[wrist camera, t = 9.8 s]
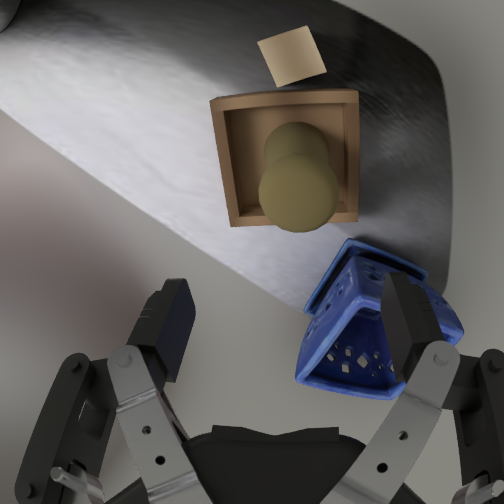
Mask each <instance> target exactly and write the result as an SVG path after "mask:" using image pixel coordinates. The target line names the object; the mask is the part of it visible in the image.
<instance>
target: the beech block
mask: <svg viewBox="0 0 504 504" xmlns="http://www.w3.org/2000/svg"><path fill="white" fill-rule="evenodd" d="M257 43H258V45H259V47H260V49H261V51H262V54H263V56H264V58H265V60H266V62H267V65H268V67H269V69H270V71H271V74H272V76H273V78H274V81H275V83H276V85H277V88H278V87H280V86H283V85H286V84H289V83H292V82H295V81H298V80H302V79H305V78H308V77H311V76H315V75H318V74H321V73H325V72H327V71H326V69H325V66H324V64H323V61H322V59H321V56H320V54H319V51H318V49H317V47H316V44H315V42H314V40H313V37H312V35H311V33H310V30H309V28H308V26H305V27H301V28H298V29H295V30H291V31H288V32H285V33H282V34H279V35H276V36H273V37H270V38H267V39H265V40H262V41H259V42H257Z"/></svg>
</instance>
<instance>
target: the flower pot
mask: <svg viewBox="0 0 504 504" xmlns="http://www.w3.org/2000/svg"><path fill="white" fill-rule="evenodd" d="M403 271H405V272H406V273H407V276H408V278H409V280H410V283H411V284H418V285H419V286H420V287H421V288H422V289H423V290H424V291H425V292H426V293H427V296H428V298H429V300H430V304H431V305H432V308H433V312H435V315H436V317H437V320H438V322H439V325H440V328H441V330H442V333H443V335H444V338H445V341H446V342H448V343H450V344H452V345H453V346H455V345H456V344H457V343H458V341H460V339H461V338H462V337H463V335H464V329H463V327H462V324H461V322H460V320H459V319H458V317H457V315H456V313H455V312H454V311H453V309H452V308H451V306H450V305H449V304H448V303H447V302H446V300H445V299H444V298H443V297H442V296H441V295H440V294H439V293H438V292H436V291H435V290H434V289H433V288H431V287H430V286H428V285H427V284H425V283H424V282H425V280H426V279H427V277H428V274H429V273H428V271H427V270H425V269H424V268H422V267H420V266H418V265H416V264H413V263H411V262H409V261H407V260H405V259H403V258H400V257H398V256H396V255H394V254H392V253H389V252H387V251H384V250H382V249H379V248H377V247H374V246H372V245H370V244H367V243H365V242H362V241H359V240H356V239H353V238H348V239H347V240H346V241H345V243H344V244H343V246H342V247H341V249H340V250H339V252H338V254H337V255H336V257H335V259H334V260H333V262H332V264H331V265H330V267H329V268H328V270H327V272H326V273H325V275H324V276H323V278H322V280H321V281H320V283H319V285H318V286H317V288H316V289H315V291H314V293H313V294H312V296H311V297H310V299H309V301H308V302H307V304H306V306H305V308H304V313H306V314H308V315H310V316H313V318H312V320H311V322H310V324H309V326H308V328H307V331H306V333H305V336H304V338H303V341H302V344H301V348H300V352H299V356H298V361H297V366H296V373H295V380H296V382H298V383H300V384H303V385H307V386H311V387H314V388H318V389H322V390H326V391H331V392H336V393H341V394H346V395H351V396H356V397H363V398H369V399H378V400H393V399H395V398H396V397H398V396H399V395H400V394H401V392H402V391H403V390H404V388H405V386H406V384H405V381H403V382H396V379H395V374H394V372H392V370H391V369H390V367H391V365H392V359H391V355H390V350H389V346H388V342H387V337H386V333H385V329H384V325H383V321H382V317H381V310H380V304H381V298H382V292H383V287H384V282H385V277H386V274H387V272H403ZM335 345H336V346H337V347H338V349H337V348H336V347H335ZM345 349H349V350H350V352H351V356H346V354H345ZM328 354H330V355H331V356H332V357H333V358H334V360H333V361H330V360H329V359H328V357H327V355H328ZM361 355H362V356H363V357H364V358H365V359H366V360H367V362H368V364H367V365H366V367H365V368H363V367H362V366H360V365H359V364H358V363H357V360H358V358H359V357H360V356H361ZM374 355H377V357H378V359H376V358H375V357H374ZM342 364H344V365H347V366H348V367H349V373H347V372H343V371H342ZM379 366H380V367H381V369H380V368H379ZM372 374H373V375H374V376H373V375H372Z"/></svg>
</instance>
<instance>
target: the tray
mask: <svg viewBox="0 0 504 504" xmlns="http://www.w3.org/2000/svg"><path fill="white" fill-rule="evenodd" d="M210 107H211V114H212V120H213V126H214V132H215V138H216V144H217V150H218V156H219V162H220V168H221V174H222V180H223V186H224V192H225V198H226V203H227V209H228V215H229V220H230V226H231V227H241V226H261V225H275V224H273V223H272V222H271V221H270V220H269V219H268V218H267V217H266V215H265V214H264V211H263V209H262V207H261V204H260V202H259V191H258V189H259V186H260V182H261V179H262V175H263V174H264V172H265V171H266V165H265V159H264V146H265V142H266V139H267V138H268V136H269V135H270V133H271V132H272V131H273V130H274V129H276V128H277V127H278V126H280V125H282V124H285V123H288V122H304V123H307V124H311V125H312V126H314V127H315V128H317V129H318V130H320V132H321V133H322V134H323V135H324V137H325V138H326V140H327V143H328V146H329V167H330V169H331V170H332V171H333V173H334V174H335V176H336V179H337V182H338V186H339V189H340V190H339V203H338V206H337V208H336V211H335V213H334V215H333V216H332V217H331V218H330V220H329V221H328V222H327V223H339V222H358V209H359V180H360V123H359V95H358V91H357V90H354V89H352V88H318V89H293V90H277V91H265V92H254V93H245V94H236V95H229V96H221V97H216V98H214V99H212V100H210Z"/></svg>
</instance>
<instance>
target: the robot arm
mask: <svg viewBox="0 0 504 504" xmlns="http://www.w3.org/2000/svg"><path fill="white" fill-rule="evenodd" d="M20 1H21V0H0V32H1V31H2V30H4V29H5V28H6V27H7V26H8V24H9V23H10V22H11V20H12V19H13V17H14V15H15V13H16V11H17V9H18V7H19V4H20ZM380 310H381V317H382V321H383V325H384V329H385V333H386V337H387V342H388V346H389V350H390V355H391V359H392V364H393V368H394V374H395V379H396V382H403V381H405V384H406V386H405V388H404V390H403V391H402V392H401V394H400V395H399V397H398V399H397V401H396V402H395V404H394V406H393V407H392V409H391V410H390V412H389V414H388V415H387V417H386V418H385V420H384V421H383V423H382V424H381V426H380V427H379V429H378V430H377V432H376V433H375V435H374V436H373V438H372V439H371V440H370V442H369V443H368V445H367V446H366V445H365V444H364V443H362V442H360V441H358V440H356V439H354V438H351V437H348V436H345V435H339V427H330V428H307V429H303V430H299V431H295V432H290V433H285V434H281V435H269V434H265V433H261V432H258V431H254V430H250V429H247V428H243V427H232V426H220V425H213V427H212V432H210V433H205V434H201V435H198V436H196V437H194V438H191V439H190V437H189V436H188V434H187V433H186V431H185V430H184V428H183V426H182V425H181V423H180V421H179V419H178V417H177V415H176V414H175V411H174V409H173V407H172V405H171V403H170V401H169V399H168V397H167V395H166V393H165V391H164V389H163V388H164V385H165V382H173V383H175V382H176V378H177V375H178V372H179V368H180V365H181V362H182V358H183V355H184V352H185V349H186V346H187V342H188V339H189V336H190V333H191V330H192V327H193V323H194V320H195V314H196V313H195V312H196V311H195V305H194V301H193V299H192V295H191V292H190V289H189V286H188V283H187V281H186V279H184V278H183V279H182V278H181V279H180V278H178V279H167V280H166V281H165V283H164V285H163V288H162V290H161V291H155V293H153V294H152V295H151V297H149V298H148V300H147V302H146V304H145V306H144V308H143V310H142V312H141V314H140V318H138V320H137V322H136V325H135V326H134V329H133V331H132V333H131V335H130V337H129V339H128V342H127V344H126V345H124V346H121V347H118V348H117V349H115V350H114V351H113V352H112V353H111V354H110V356H109V358H107V359H101V360H95V361H90V360H89V358H88V357H87V356H86V355H85V354H83V353H75V354H72V355H70V356H69V357H67V358H66V359H65V361H64V362H63V364H62V365H61V367H60V369H59V372H58V374H57V376H56V378H55V380H54V382H53V385H52V387H51V389H50V391H49V394H48V396H47V398H46V401H45V403H44V406H43V408H42V410H41V413H40V415H39V418H38V420H37V423H36V425H35V428H34V430H33V433H32V436H31V439H30V441H29V444H28V447H27V449H26V452H25V455H24V458H23V461H22V464H21V467H20V470H19V473H18V477H17V480H16V483H15V496H16V499H17V501H18V502H19V504H426V503H425V502H424V501H423V500H422V499H421V498H420V497H419V496H417V495H416V494H415V493H414V492H413V491H412V490H411V489H410V488H409V487H408V486H407V485H406V484H405V483H404V480H405V478H406V477H407V475H408V474H409V472H410V470H411V469H412V467H413V465H414V464H415V462H416V460H417V459H418V457H419V455H420V454H421V452H422V450H423V448H424V446H425V444H426V442H427V441H428V439H429V437H430V435H431V433H432V431H433V429H434V427H435V425H436V423H437V421H438V419H439V417H440V415H441V412H442V410H441V409H449V410H453V414H454V420H455V426H456V433H457V440H458V447H459V455H460V465H461V475H462V487H461V488H460V489H459V490H458V491H457V492H456V493H455V495H454V497H453V499H452V502H451V504H504V353H503V352H502V351H500V350H497V349H489V350H486V351H485V352H484V353H483V354H482V356H481V357H480V358H479V357H472V356H465V355H461V354H459V352H458V350H457V349H456V348H455V347H454V346H453V345H452V344H450V343H448V342H446V341H445V338H444V335H443V333H442V330H441V328H440V325H439V322H438V320H437V317H436V315H435V312H433V308H432V305H431V304H430V300H429V298H428V296H427V293H426V292H425V291H424V290H423V289H422V288H421V287H420V286H419V285H418V284H411V283H410V280H409V278H408V276H407V273H406V272H405V271H403V272H387V274H386V277H385V282H384V287H383V292H382V298H381V304H380ZM84 402H85V405H84V408H83V411H82V413H81V410H82V407H83V404H84ZM80 413H81V416H80V419H79V415H80ZM116 413H117V415H118V418H119V421H120V424H121V427H122V430H123V433H124V435H125V438H126V441H127V444H128V446H129V449H130V451H131V454H132V456H133V459H134V461H135V464H136V466H137V469H138V471H139V473H140V476H141V477H140V478H139V479H137V480H136V481H135V482H134V483H132V484H131V485H129V486H128V487H127V488H125V489H124V490H122V491H121V492H120V493H118V494H117V495H115V496H114V497H113V498H111V499H110V500H108V501H107V502H106V503H104V502H103V499H104V498H105V494H104V492H103V487H102V484H101V482H100V481H99V479H98V477H99V473H100V469H101V465H102V461H103V458H104V454H105V451H106V447H107V444H108V440H109V436H110V433H111V429H112V426H113V423H114V420H115V416H116ZM78 419H79V420H78Z"/></svg>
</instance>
